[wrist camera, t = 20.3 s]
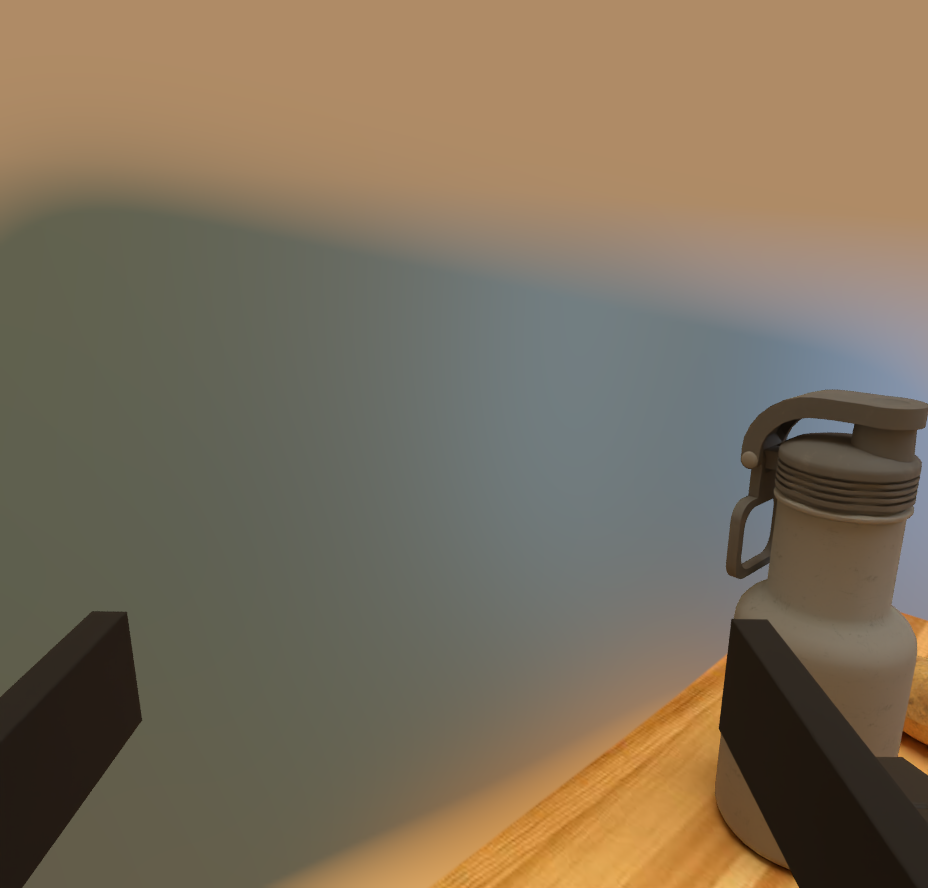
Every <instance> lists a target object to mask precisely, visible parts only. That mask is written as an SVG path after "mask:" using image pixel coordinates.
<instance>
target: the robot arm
mask: <svg viewBox="0 0 928 888" xmlns="http://www.w3.org/2000/svg"><path fill="white" fill-rule="evenodd" d="M141 721H142V718H141V710H140V703H139V695H138V688H137V681H136V674H135V667H134V660H133V653H132V646H131V638H130V631H129V624H128V617H127V612H100V611H95V612H94V611H93V612H91V613H90V614H89V615H88V616H87V617H86V618H85V619H84V620H82V621H81V622H80V623H79V624H78V625H77V626H76V627H75V628H74V629H73V630H72V631H71V632H70V633H69V634H67V635H66V636H65V637H64V638H63V639H62V640H61V641H60V642H59V643H58V644H57V645H56V646H55V647H53V648H52V649H51V650H50V651H49V652H48V653H47V654H46V655H45V656H44V657H43V658H42V659H41V660H40V661H39V662H37V664H35V665H34V666H33V667H32V668H31V669H30V670H29V671H28V672H27V673H26V674H25V675H24V676H22V678H20V679H19V680H18V681H17V682H16V683H15V684H14V685H13V686H12V687H11V688H10V689H9V690H7V691H6V692H5V693H4V694H3V695H2V696H1V697H0V888H22V887H23V886H24V884H25V883H26V881H27V880H28V879H29V877H30V876H31V875H32V873H33V872H34V870H35V869H36V868H37V866H38V865H39V863H40V862H41V861H42V859H43V858H44V856H45V855H46V854H47V852H48V851H49V849H50V848H51V847H52V845H53V844H54V842H55V841H56V840H57V838H58V837H59V836H60V834H61V833H62V831H63V830H64V829H65V827H66V826H67V824H68V823H69V822H70V820H71V819H72V817H73V816H74V814H75V813H76V812H77V810H78V809H79V808H80V806H81V805H82V803H83V802H84V801H85V799H86V798H87V796H88V795H89V793H90V792H91V791H92V789H93V788H94V787H95V785H96V784H97V782H98V781H99V780H100V778H101V777H102V775H103V774H104V773H105V771H106V770H107V768H108V767H109V766H110V764H111V763H112V761H113V760H114V759H115V757H116V756H117V754H118V753H119V751H120V750H121V749H122V747H123V746H124V745H125V743H126V742H127V740H128V739H129V738H130V736H131V735H132V733H133V732H134V730H135V729H136V728H137V726H138V725H139V723H140V722H141ZM719 730H720V732H721V734H722V736H723V738H724V740H725V742H726V744H727V746H728V748H729V750H730V752H731V754H732V756H733V758H734V760H735V762H736V764H737V766H738V767H739V769H740V771H741V773H742V775H743V777H744V779H745V781H746V783H747V785H748V787H749V789H750V791H751V793H752V795H753V797H754V799H755V801H756V803H757V805H758V807H759V809H760V811H761V813H762V815H763V817H764V819H765V821H766V823H767V825H768V827H769V829H770V831H771V833H772V835H773V837H774V839H775V841H776V843H777V845H778V847H779V849H780V851H781V853H782V855H783V857H784V859H785V861H786V863H787V865H788V867H789V868H790V870H791V872H792V874H793V876H794V878H795V880H796V882H797V884H798V886H799V888H928V775H926V774H925V773H924V772H922V771H921V770H919V769H918V768H917V767H915V766H914V765H912V764H911V763H910V762H908V761H907V760H905V759H904V758H903V757H875V755H874V754H873V753H872V752H871V750H870V749H869V748H868V747H867V745H866V744H865V743H864V741H863V740H862V739H861V738H860V736H859V735H858V734H857V733H856V731H855V730H854V729H853V727H852V726H851V725H850V724H849V722H848V721H847V720H846V719H845V717H844V716H843V715H842V713H841V712H840V711H839V710H838V708H837V707H836V706H835V705H834V703H833V702H832V701H831V699H830V698H829V697H828V696H827V694H826V693H825V692H824V691H823V689H822V688H821V687H820V685H819V684H818V683H817V682H816V680H815V679H814V678H813V677H812V675H811V674H810V673H809V672H808V670H807V669H806V668H805V666H804V665H803V664H802V663H801V661H800V660H799V659H798V658H797V656H796V655H795V654H794V652H793V651H792V650H791V649H790V647H789V646H788V645H787V644H786V642H785V641H784V640H783V638H782V637H781V636H780V635H779V633H778V632H777V631H776V630H775V628H774V627H773V626H772V624H771V623H770V622H769V621H768V619H732V620H731V629H730V638H729V646H728V654H727V663H726V671H725V680H724V689H723V697H722V706H721V714H720V723H719Z"/></svg>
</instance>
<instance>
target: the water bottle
mask: <svg viewBox="0 0 928 888" xmlns="http://www.w3.org/2000/svg"><path fill="white" fill-rule="evenodd" d="M927 415H928V404H927V403H924V402H921V401H917V400H913V399H908V398H901V397H891V396H884V395H876V394H869V393H861V392H854V391H845V390H822V391H817V392H811V393H807V394H804V395H801V396H797V397H793V398H790V399H786V400H783V401H781V402H779V403H777V404H774V405H772V406H770V407H769V408H768V409H766V410H765V411H764V412H762V413H761V414H759V415H758V417H757V418H756V419H755V420H754V421H753V423H752V424H751V425H750V427H749V429H748V431H747V433H746V435H745V436H744V440H743V445H742V453H741V462H742V464H743V466H745V467H746V468H748V469H751V477H750V487H749V495H748V496H746V497H744V498H742V499H741V500H740V501H739V502H738V503H737V504H736V506H735V508H734V510H733V513H732V516H731V523H730V532H729V541H728V551H727V560H726V570H727V573H728V574H729V575H730V576H733V577H736V578H739V579H742V578H745V577H746V576H748V575H750V574H751V573H753V572H755V571H756V570H758V569H760V568H761V567H763V566H765V565H767V564H768V563H770V564H769V572H768V579H766V580H763V581H761V582H759V583H756V584H755V585H753V586H752V587H751V588H749V589H748V590H747V591H746V592H745V593H744V594H743V595H742V596H741V598H740V600H739V602H738V604H737V606H736V610H735V615H734V619H768V621H769V622H770V623H771V624H772V626H773V627H774V628H775V630H776V631H777V632H778V633H779V635H780V636H781V637H782V638H783V640H784V641H785V642H786V644H787V645H788V646H789V647H790V649H791V650H792V651H793V652H794V654H795V655H796V656H797V658H798V659H799V660H800V661H801V663H802V664H803V665H804V666H805V668H806V669H807V670H808V672H809V673H810V674H811V675H812V677H813V678H814V679H815V680H816V682H817V683H818V684H819V685H820V687H821V688H822V689H823V691H824V692H825V693H826V694H827V696H828V697H829V698H830V699H831V701H832V702H833V703H834V705H835V706H836V707H837V708H838V710H839V711H840V712H841V713H842V715H843V716H844V717H845V719H846V720H847V721H848V722H849V724H850V725H851V726H852V727H853V729H854V730H855V731H856V733H857V734H858V735H859V736H860V738H861V739H862V740H863V741H864V743H865V744H866V745H867V747H868V748H869V749H870V750H871V752H872V753H873V754H874V755H875V757H898V753H899V748H900V743H901V737H902V732H903V727H904V722H905V717H906V712H907V706H908V701H909V696H910V691H911V686H912V681H913V675H914V670H915V665H916V658H917V640H916V636H915V634H914V632H913V630H912V628H911V626H910V624H909V622H908V621H907V620H906V618H905V617H904V616H903V615H902V614H901V613H900V611H898V610H897V609H896V608H894V607H893V606H892V605H891V603H892V598H893V592H894V586H895V581H896V575H897V570H898V564H899V558H900V553H901V547H902V542H903V536H904V531H905V525H906V519H908V518H910V517H911V516H912V515H913V513H914V507H913V505H914V504H915V501H916V495H917V488H918V485H919V484H918V483H919V479H920V473H921V467H922V462H921V460H920V459H919V458H918V457H917V456H916V455H915V445H916V444H915V443H916V434H917V430H918V429H923V428H925V426H926V421H927ZM802 418H818V419H827V420H835V421H842V422H848V423H853V424H854V429H853V433H852V434H847V433H810V434H803V435H799V436H796V437H794V438H791V439H789V440H786V439H787V436H788V434H789V432H790V430H791V429H792V427H793V426H794V425H795V424H796V423H797V422H798V421H799V420H801V419H802ZM770 499H774V508H773V517H772V524H771V532H770V537H769V541H768V543H767V546H766V547H765V549H764V550H763V552H761V553H760V554H758V555H757V556H755V557H753V558H751V559H749V560H748V561H746V562H744V563H742V564H741V553H742V544H743V535H744V528H745V523H746V520H747V517H748V515H749V513H750V512H751V510H752V509H753V508H754V507H756V506H758V505H760V504H762V503H764V502H766V501H768V500H770ZM715 796H716V800H717V805H718V808H719V810H720V812H721V814H722V816H723V818H724V820H725V822H726V823H727V825H728V826H729V827H730V829H731V830H732V831H733V833H734V834H735V835H736V836H737V837H738V838H739V839H740V840H741V841H742V842H743V843H744V844H745V845H747V846H748V847H750V848H751V849H752V850H754V851H755V852H756V853H758V854H759V855H761V856H763V857H764V858H766V859H768V860H770V861H771V862H773V863H775V864H778V865H780V866H782V867H785V868H787V869H790V868H789V867H788V865H787V863H786V861H785V859H784V857H783V855H782V853H781V851H780V849H779V847H778V845H777V843H776V841H775V839H774V837H773V835H772V833H771V831H770V829H769V827H768V825H767V823H766V821H765V819H764V817H763V815H762V813H761V811H760V809H759V807H758V805H757V803H756V801H755V799H754V797H753V795H752V793H751V791H750V789H749V787H748V785H747V783H746V781H745V779H744V777H743V775H742V773H741V771H740V769H739V767H738V766H737V764H736V762H735V760H734V758H733V756H732V754H731V752H730V750H729V748H728V746H727V744H726V742H725V740H724V738H723V736H722V734H721V738H720V747H719V756H718V765H717V774H716V783H715Z"/></svg>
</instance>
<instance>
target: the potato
mask: <svg viewBox="0 0 928 888" xmlns="http://www.w3.org/2000/svg"><path fill="white" fill-rule="evenodd" d="M903 731H904V732H905V733H907V734H908V735H910V736H911V737H913V738H914V739H916V740H918V741H920V742H922V743H924V744H926V745H928V658H925V657H921V656H917V658H916V665H915V670H914V675H913V681H912V686H911V691H910V696H909V701H908V706H907V712H906V717H905V722H904V727H903Z"/></svg>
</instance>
